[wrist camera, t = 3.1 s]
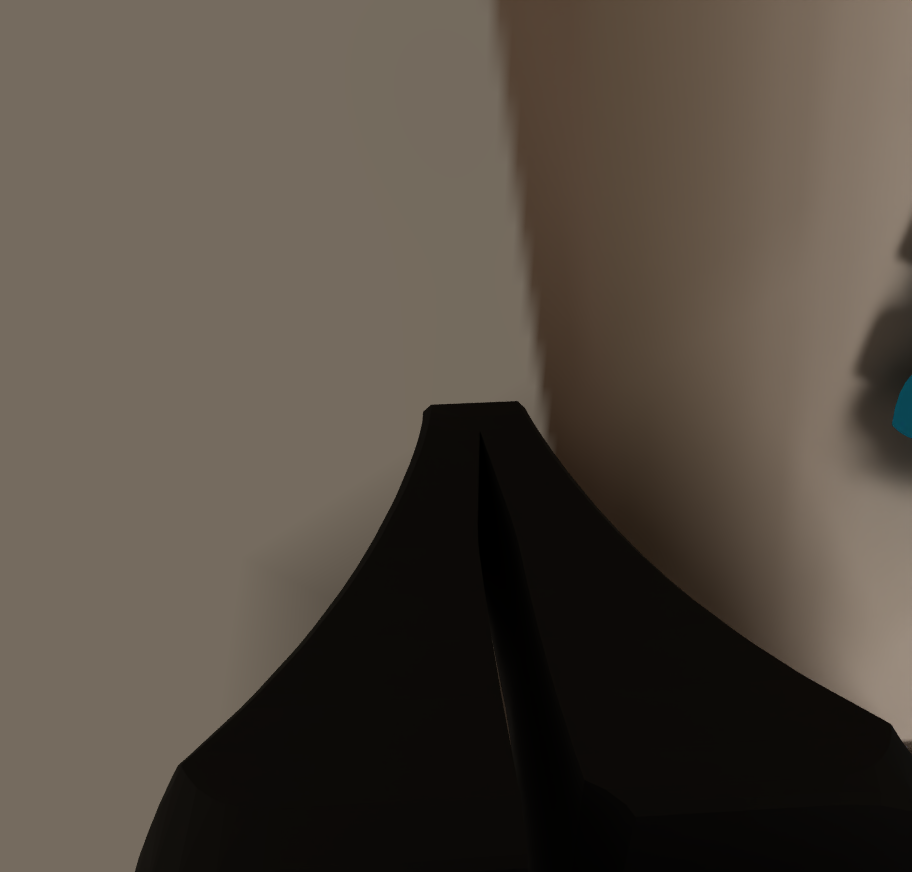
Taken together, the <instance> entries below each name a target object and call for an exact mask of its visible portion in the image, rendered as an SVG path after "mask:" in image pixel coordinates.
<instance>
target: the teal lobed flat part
mask: <svg viewBox="0 0 912 872" xmlns="http://www.w3.org/2000/svg"><path fill="white" fill-rule="evenodd" d="M892 426H893V427H894V428H896V429H897V430H898V431H899V432H900V433H902V434H903V435H905V436H907V437H909V438H912V375H911V376H910V378H909V379H908V380H907V381H906V382H905V384H904V386H903V388H902V390H901V392H900V394H899V397H898V400H897V403H896V406H895V411H894V416H893V421H892Z"/></svg>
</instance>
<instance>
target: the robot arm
mask: <svg viewBox="0 0 912 872" xmlns="http://www.w3.org/2000/svg"><path fill="white" fill-rule="evenodd" d="M491 636H492V637H491ZM492 641H493V643H492ZM493 646H494V649H493ZM494 651H495V655H494ZM495 656H496V661H495ZM496 662H497V666H498V671H499V676H500V681H501V687H502V692H503V696H504V702H505V707H506V713H507V720H508V726H509V733H510V740H511V745H510V740H509V734H508V730H507V724H506V719H505V713H504V708H503V703H502V698H501V692H500V686H499V679H498V673H497V667H496ZM135 872H912V755H911V753H910V752H909V750H908V749H907V748H906V746H905V745H904V743H903V742H902V741H901V739H900V738H899V736H898V735H897V733H896V731H895V730H894V728H893V726H892V725H891V724H890V723H888V722H886V721H884V720H883V719H881V718H879V717H877V716H875V715H874V714H872V713H870V712H868V711H866V710H865V709H863V708H861V707H859V706H857V705H855V704H854V703H852V702H850V701H848V700H846V699H845V698H843V697H841V696H839V695H837V694H836V693H834V692H832V691H830V690H828V689H827V688H825V687H823V686H821V685H819V684H817V683H816V682H814V681H812V680H810V679H808V678H807V677H805V676H803V675H802V674H800V673H798V672H797V671H795V670H794V669H792V668H791V667H789V666H787V665H786V664H784V663H783V662H781V661H780V660H778V659H777V658H775V657H773V656H772V655H770V654H769V653H767V652H766V651H764V650H762V649H761V648H759V647H758V646H756V645H755V644H753V643H752V642H750V641H749V640H747V639H746V638H745V637H743V636H742V635H740V634H739V633H737V632H736V631H735V630H733V629H732V628H731V627H729V626H728V625H727V624H725V623H724V622H723V621H721V620H720V619H719V618H717V617H716V616H715V615H713V614H712V613H710V612H709V611H708V610H706V609H705V608H704V607H702V606H701V605H700V604H698V603H697V602H696V601H694V600H693V599H692V598H690V597H689V596H688V595H687V594H686V593H685V592H683V591H682V590H681V589H680V588H679V587H677V586H676V585H675V584H674V583H673V582H671V581H670V580H669V579H668V578H667V577H666V576H665V575H663V574H662V573H661V572H660V571H659V570H658V569H657V568H656V567H655V566H654V565H653V564H651V563H650V562H649V561H648V560H647V559H646V558H645V557H644V556H643V555H642V554H641V553H640V552H639V551H638V550H637V549H636V548H635V547H634V546H633V545H632V544H631V543H630V542H629V541H628V540H627V539H626V538H625V537H624V536H623V535H622V534H621V533H620V532H619V531H618V530H617V529H616V528H615V527H614V526H613V525H612V523H611V522H610V521H609V520H608V519H607V518H606V517H605V516H604V515H603V514H602V513H601V511H600V510H599V509H598V508H597V507H596V506H595V505H594V503H593V502H592V501H591V500H590V499H589V498H588V496H587V495H586V494H585V493H584V491H583V490H582V489H581V488H580V486H579V485H578V484H577V483H576V481H575V480H574V479H573V478H572V476H571V475H570V474H569V473H568V471H567V470H566V469H565V468H564V466H563V465H562V464H561V462H560V461H559V460H558V458H557V457H556V455H555V454H554V453H553V451H552V450H551V448H550V447H549V446H548V444H547V443H546V441H545V440H544V438H543V437H542V435H541V434H540V432H539V431H538V429H537V428H536V426H535V425H534V423H533V421H532V420H531V418H530V416H529V415H528V413H527V411H526V409H525V408H524V407H523V406H522V405H521V404H520V403H519V402H518V401H511V402H487V403H462V404H439V405H430V406H429V407H428V408H427V409H426V410H425V411H424V412H423V421H422V427H421V431H420V435H419V438H418V442H417V445H416V448H415V451H414V454H413V457H412V459H411V462H410V465H409V467H408V469H407V472H406V474H405V476H404V479H403V481H402V484H401V486H400V489H399V491H398V493H397V495H396V498H395V499H394V502H393V504H392V506H391V508H390V509H389V511H388V513H387V515H386V517H385V519H384V521H383V523H382V525H381V526H380V528H379V530H378V532H377V534H376V536H375V538H374V540H373V541H372V543H371V545H370V546H369V548H368V550H367V552H366V553H365V555H364V556H363V558H362V560H361V561H360V563H359V565H358V566H357V568H356V570H355V571H354V572H353V574H352V575H351V577H350V578H349V580H348V581H347V583H346V584H345V586H344V587H343V589H342V590H341V592H340V593H339V594H338V596H337V597H336V598H335V600H334V601H333V602H332V604H331V605H330V606H329V608H328V609H327V610H326V612H325V613H324V615H323V616H322V617H321V618H320V620H319V621H318V622H317V624H316V625H315V626H314V627H313V629H312V630H311V631H310V632H309V634H308V635H307V636H306V638H305V639H304V640H303V641H302V642H301V643H300V645H299V646H298V647H297V648H296V649H295V650H294V652H293V653H292V654H291V655H290V656H289V657H288V658H287V660H285V661H284V662H283V663H282V665H281V666H280V667H279V668H278V669H277V670H276V671H275V672H274V673H273V674H272V675H271V677H270V678H269V679H268V680H267V681H266V682H265V683H264V684H263V685H262V686H261V688H260V689H259V690H258V691H257V692H256V693H255V694H254V695H253V696H252V697H251V698H250V699H249V700H248V701H247V702H246V703H245V704H244V705H243V706H242V707H241V708H240V709H239V710H238V711H237V712H236V713H235V714H234V715H233V716H232V717H230V718H229V719H228V720H227V721H226V722H225V723H224V724H223V725H222V726H221V727H220V728H219V729H218V730H216V731H215V732H214V733H213V734H212V735H211V736H210V737H209V738H208V739H207V740H206V741H205V742H203V743H202V744H201V745H200V746H199V747H198V748H197V749H196V750H195V751H194V752H193V753H192V754H191V755H189V756H188V757H187V758H186V759H185V760H184V761H183V762H181V763H180V764H179V765H178V767H177V769H176V771H175V772H174V774H173V776H172V779H171V781H170V783H169V785H168V787H167V789H166V792H165V794H164V796H163V798H162V800H161V802H160V804H159V807H158V809H157V812H156V814H155V817H154V820H153V822H152V824H151V827H150V829H149V832H148V835H147V837H146V840H145V843H144V845H143V848H142V851H141V853H140V856H139V859H138V863H137V866H136V870H135Z"/></svg>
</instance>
